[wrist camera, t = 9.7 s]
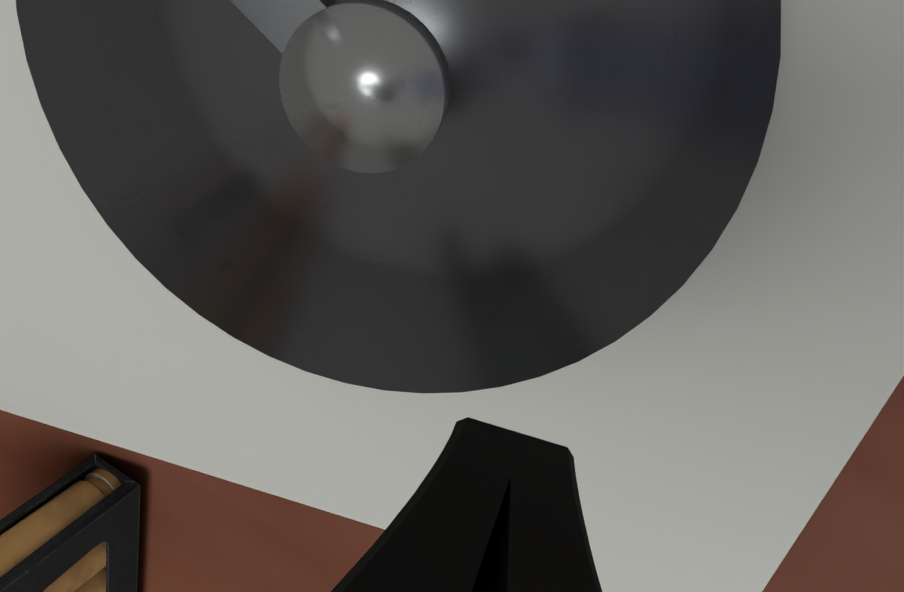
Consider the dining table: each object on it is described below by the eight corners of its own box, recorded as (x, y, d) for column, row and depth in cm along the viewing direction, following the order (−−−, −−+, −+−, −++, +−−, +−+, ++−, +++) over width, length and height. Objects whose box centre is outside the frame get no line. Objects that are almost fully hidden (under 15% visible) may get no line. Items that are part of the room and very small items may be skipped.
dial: (934, 97, 14) (1068, 232, 10) (402, 447, 21) (334, 622, 17) (112, -1030, 10) (-346, -1747, 5) (-229, -127, 17) (-558, -102, 12)
